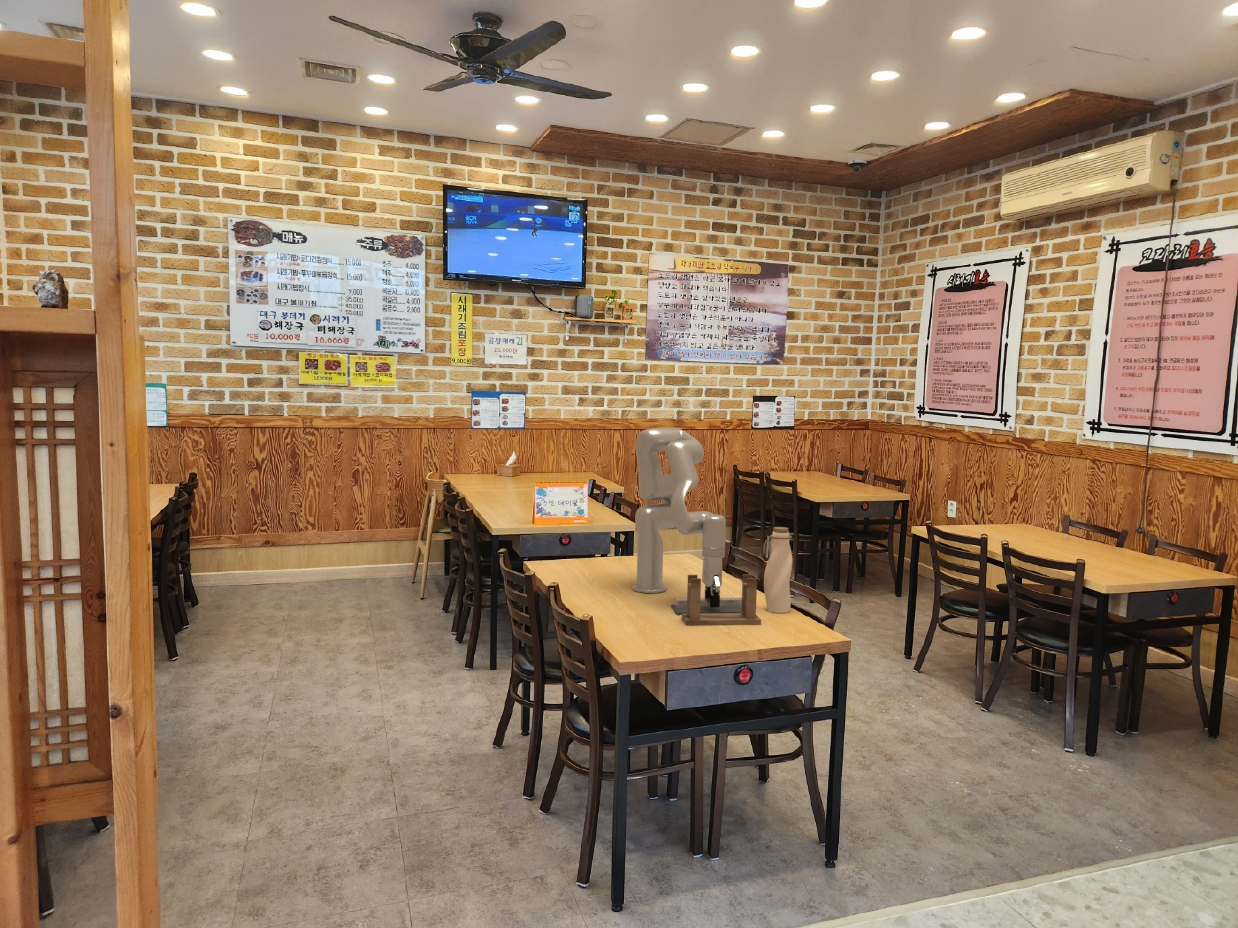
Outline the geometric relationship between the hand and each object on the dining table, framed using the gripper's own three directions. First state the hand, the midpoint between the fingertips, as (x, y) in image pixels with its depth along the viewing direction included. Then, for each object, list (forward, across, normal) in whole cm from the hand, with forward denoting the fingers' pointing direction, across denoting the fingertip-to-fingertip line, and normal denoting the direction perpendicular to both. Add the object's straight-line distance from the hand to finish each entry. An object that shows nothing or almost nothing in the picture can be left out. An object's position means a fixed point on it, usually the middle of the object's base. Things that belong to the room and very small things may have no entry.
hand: (712, 603), depth 266 cm
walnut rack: (+2, +13, 0) cm, 13 cm away
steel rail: (+1, 0, 0) cm, 2 cm away
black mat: (+2, 0, 0) cm, 2 cm away
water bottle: (+2, +1, +22) cm, 22 cm away
